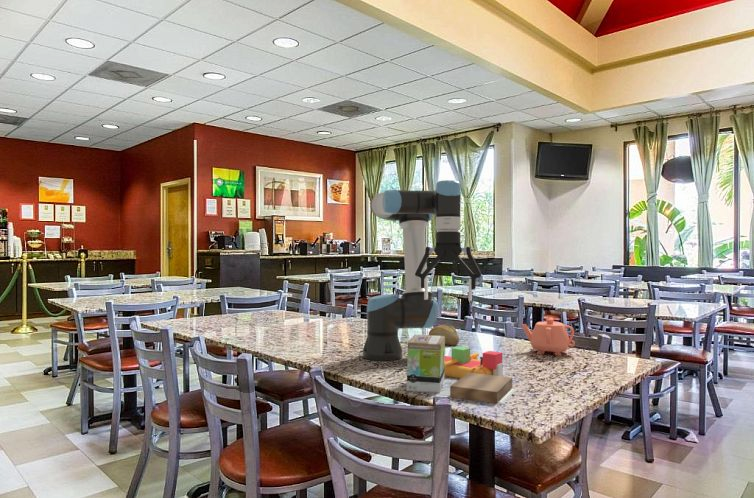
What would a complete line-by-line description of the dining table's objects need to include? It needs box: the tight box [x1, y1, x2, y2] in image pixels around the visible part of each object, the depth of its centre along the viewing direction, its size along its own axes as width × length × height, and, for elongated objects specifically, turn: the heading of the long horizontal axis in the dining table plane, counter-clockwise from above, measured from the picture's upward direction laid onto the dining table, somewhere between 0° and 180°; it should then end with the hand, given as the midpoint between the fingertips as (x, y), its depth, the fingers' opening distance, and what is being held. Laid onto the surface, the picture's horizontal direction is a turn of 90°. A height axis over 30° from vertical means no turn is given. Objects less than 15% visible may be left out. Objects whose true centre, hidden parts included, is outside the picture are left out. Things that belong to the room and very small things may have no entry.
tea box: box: [406, 334, 446, 394], centre depth 158 cm, size 15×10×15 cm, turn 168°
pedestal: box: [449, 373, 513, 404], centre depth 150 cm, size 13×17×3 cm
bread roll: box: [428, 324, 460, 347], centre depth 229 cm, size 10×15×8 cm, turn 46°
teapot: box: [521, 317, 576, 357], centre depth 210 cm, size 16×17×14 cm
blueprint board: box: [438, 386, 518, 405], centre depth 150 cm, size 18×16×1 cm
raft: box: [444, 346, 504, 379], centre depth 174 cm, size 23×30×9 cm
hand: (447, 300), depth 163 cm, fingers open, 13 cm apart
